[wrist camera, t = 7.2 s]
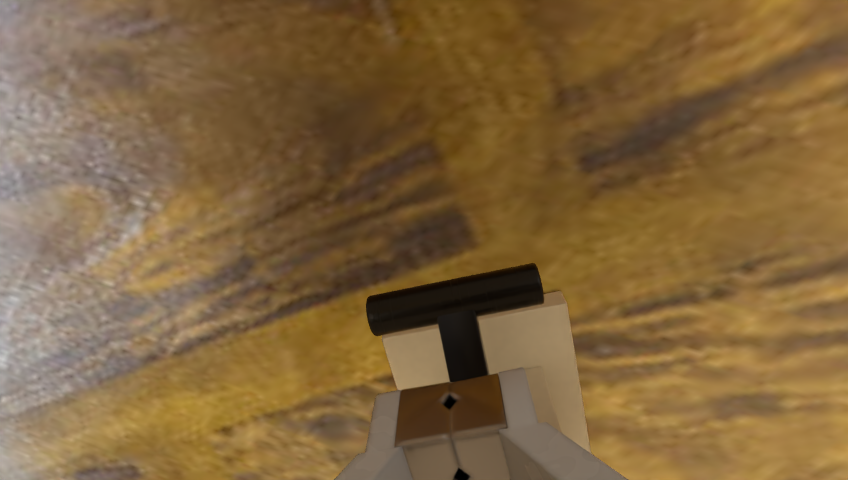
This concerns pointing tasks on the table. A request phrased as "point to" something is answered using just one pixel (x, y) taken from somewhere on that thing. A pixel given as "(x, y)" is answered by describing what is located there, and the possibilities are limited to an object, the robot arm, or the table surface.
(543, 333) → the lever bracket
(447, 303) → the press lever
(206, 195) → the table surface
